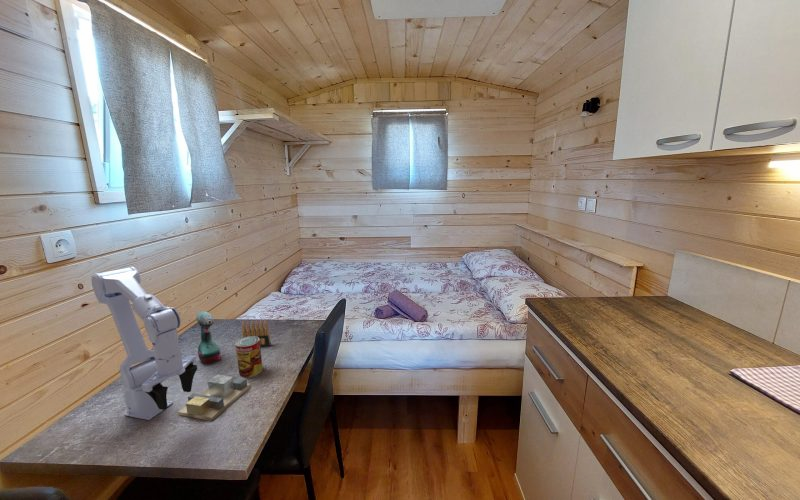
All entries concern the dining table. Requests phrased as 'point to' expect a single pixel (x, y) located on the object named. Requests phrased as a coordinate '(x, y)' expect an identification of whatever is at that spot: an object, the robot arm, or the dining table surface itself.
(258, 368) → the canned food
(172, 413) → the dining table surface
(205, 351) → the power drill
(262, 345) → the ammunition clip
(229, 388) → the steel block
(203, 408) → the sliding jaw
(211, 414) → the vise
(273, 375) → the dining table surface
